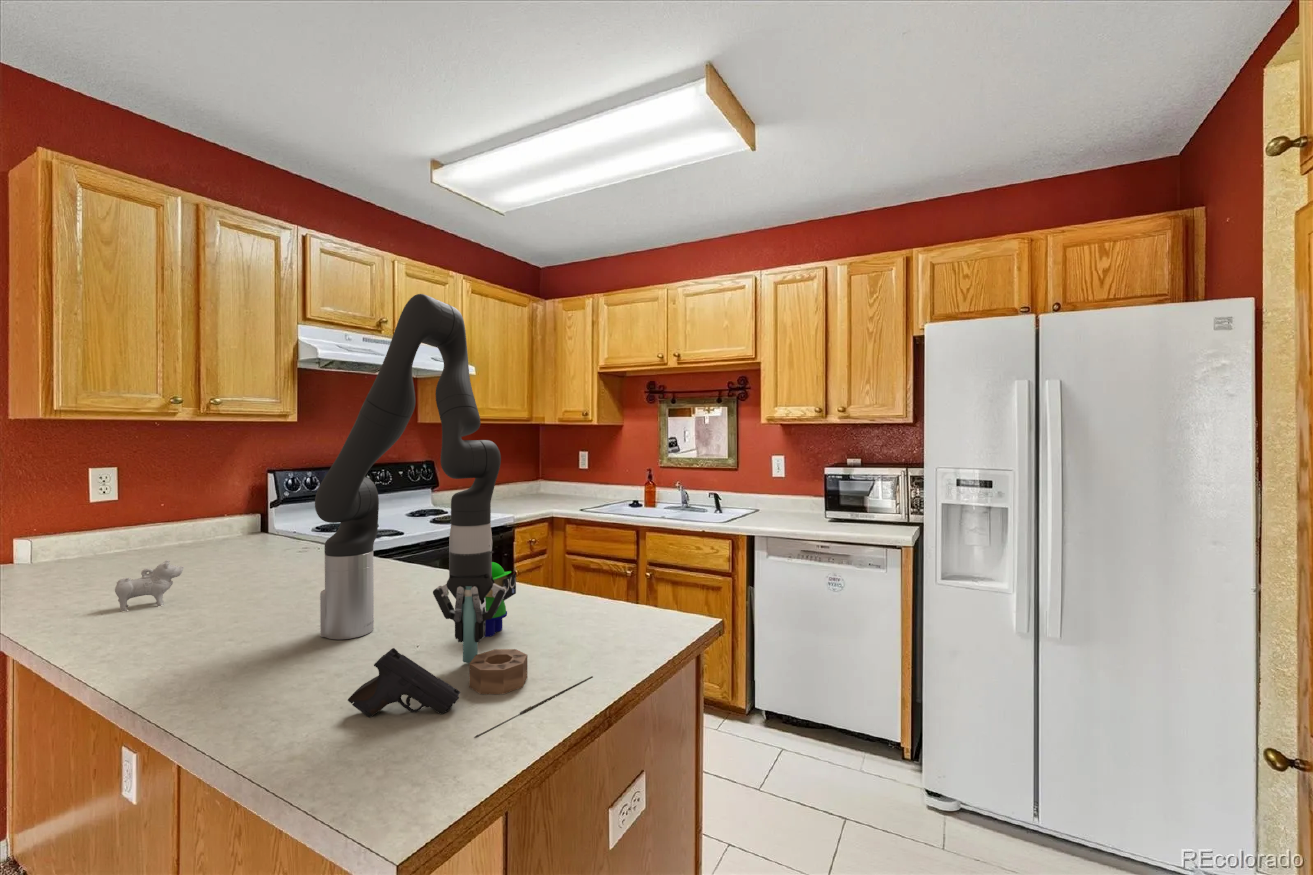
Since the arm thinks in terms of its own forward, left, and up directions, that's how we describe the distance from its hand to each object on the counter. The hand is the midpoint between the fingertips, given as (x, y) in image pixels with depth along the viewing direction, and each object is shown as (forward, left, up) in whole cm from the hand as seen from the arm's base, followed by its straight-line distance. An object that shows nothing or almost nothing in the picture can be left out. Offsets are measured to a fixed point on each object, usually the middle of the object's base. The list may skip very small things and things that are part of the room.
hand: (470, 640), depth 107 cm
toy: (-1, +17, -5) cm, 18 cm away
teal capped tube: (0, 0, -4) cm, 4 cm away
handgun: (-4, -18, -5) cm, 19 cm away
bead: (+7, -8, -4) cm, 12 cm away
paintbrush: (+16, -16, -5) cm, 23 cm away
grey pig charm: (-90, +37, -5) cm, 97 cm away
